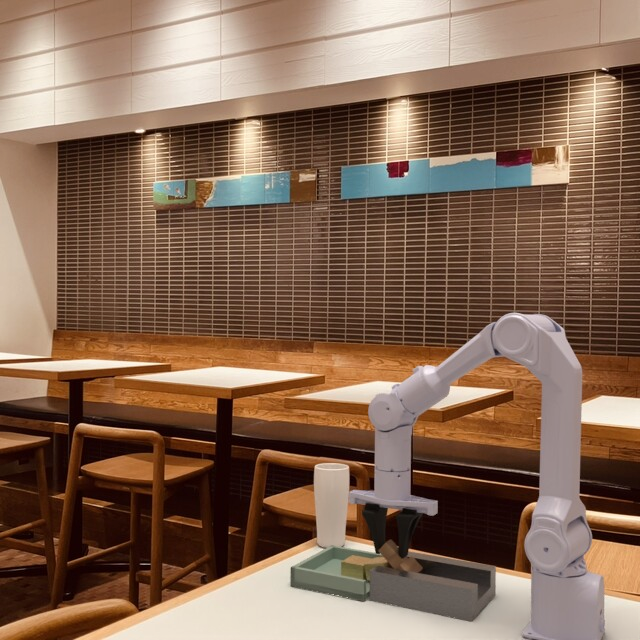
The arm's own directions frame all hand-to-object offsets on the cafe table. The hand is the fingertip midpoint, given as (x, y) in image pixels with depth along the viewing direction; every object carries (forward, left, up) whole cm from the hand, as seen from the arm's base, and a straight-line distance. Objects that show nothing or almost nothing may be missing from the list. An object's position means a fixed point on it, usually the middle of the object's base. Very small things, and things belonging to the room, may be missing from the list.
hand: (391, 554), depth 118 cm
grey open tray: (-7, 0, -6) cm, 9 cm away
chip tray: (+8, 0, -6) cm, 10 cm away
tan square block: (+1, 0, -4) cm, 4 cm away
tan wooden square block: (+6, 0, -4) cm, 8 cm away
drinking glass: (+19, -16, -6) cm, 26 cm away
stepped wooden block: (-4, 0, -3) cm, 5 cm away
